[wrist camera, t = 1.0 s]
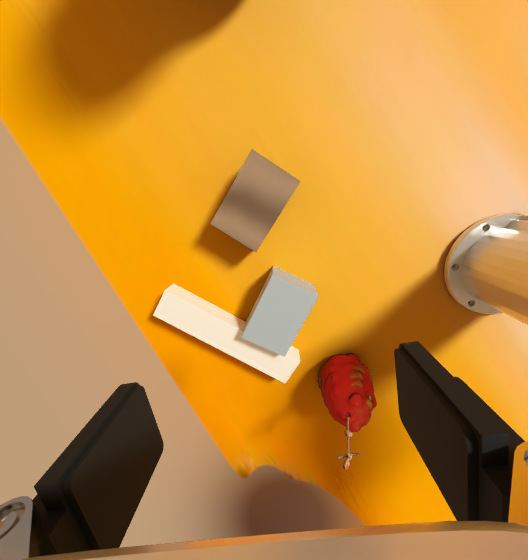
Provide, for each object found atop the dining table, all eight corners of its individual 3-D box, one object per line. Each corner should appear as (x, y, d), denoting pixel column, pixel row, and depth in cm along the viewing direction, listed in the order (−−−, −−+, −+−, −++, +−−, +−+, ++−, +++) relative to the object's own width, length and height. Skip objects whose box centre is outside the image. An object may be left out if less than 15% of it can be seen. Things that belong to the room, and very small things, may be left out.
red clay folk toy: (365, 392, 42) (410, 493, 27) (317, 395, 42) (337, 496, 28) (363, 346, 40) (411, 429, 25) (313, 350, 40) (332, 434, 26)
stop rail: (173, 283, 39) (164, 290, 36) (298, 350, 40) (300, 361, 37) (162, 307, 40) (152, 315, 37) (284, 370, 41) (285, 383, 39)
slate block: (273, 265, 37) (272, 274, 33) (313, 284, 38) (318, 296, 33) (246, 321, 40) (241, 337, 35) (284, 338, 40) (284, 357, 35)
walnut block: (255, 156, 34) (252, 149, 29) (297, 184, 34) (300, 181, 30) (219, 220, 36) (210, 223, 31) (258, 245, 37) (255, 252, 32)
